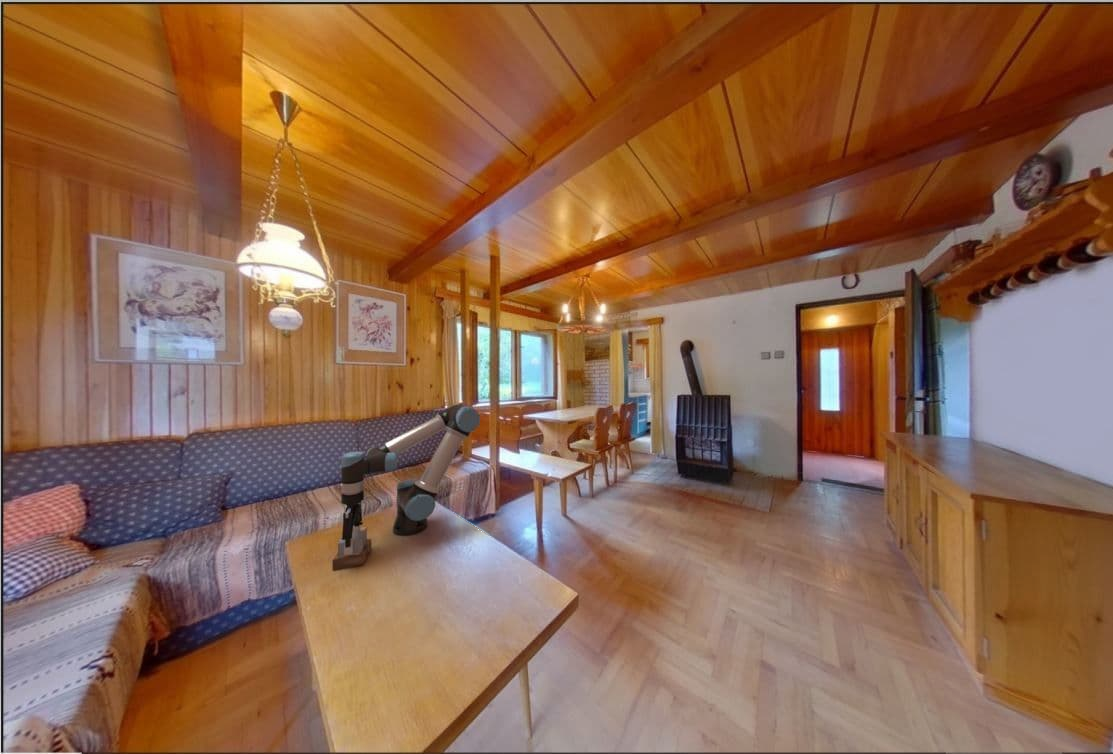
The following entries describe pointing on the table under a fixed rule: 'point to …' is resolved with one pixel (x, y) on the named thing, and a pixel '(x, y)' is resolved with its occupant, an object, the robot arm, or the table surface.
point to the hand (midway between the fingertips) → (352, 548)
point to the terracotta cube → (364, 529)
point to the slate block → (354, 542)
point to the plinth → (352, 558)
